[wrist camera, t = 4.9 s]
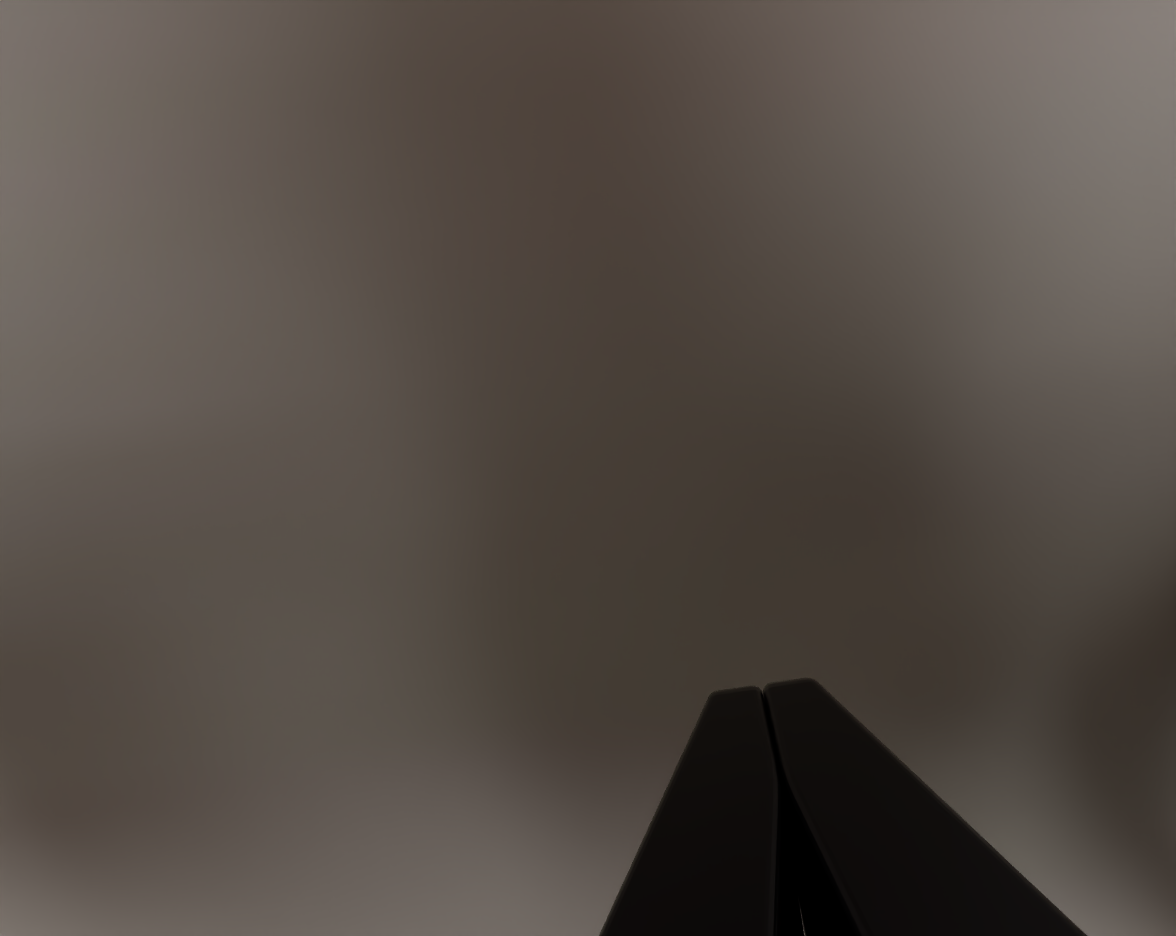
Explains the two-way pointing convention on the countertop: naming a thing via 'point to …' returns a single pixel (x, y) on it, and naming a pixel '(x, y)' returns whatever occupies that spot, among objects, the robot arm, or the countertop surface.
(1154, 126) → the countertop surface
